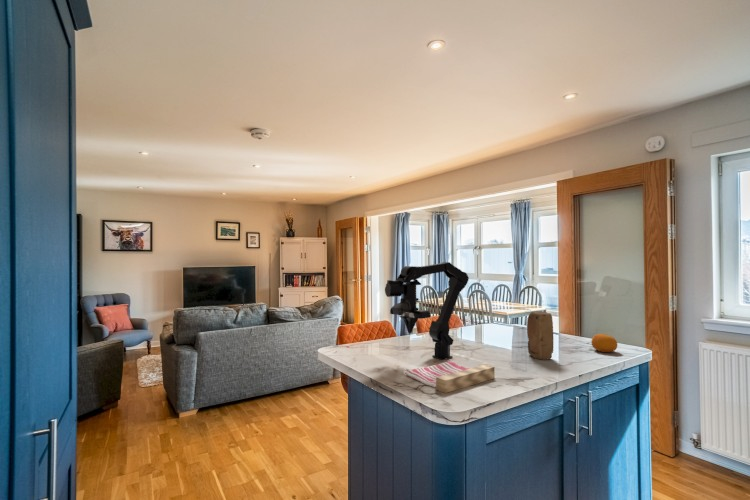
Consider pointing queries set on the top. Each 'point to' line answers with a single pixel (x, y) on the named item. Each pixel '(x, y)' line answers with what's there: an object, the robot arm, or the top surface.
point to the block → (540, 335)
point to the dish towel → (434, 372)
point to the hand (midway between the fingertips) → (409, 332)
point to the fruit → (604, 343)
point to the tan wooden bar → (464, 378)
